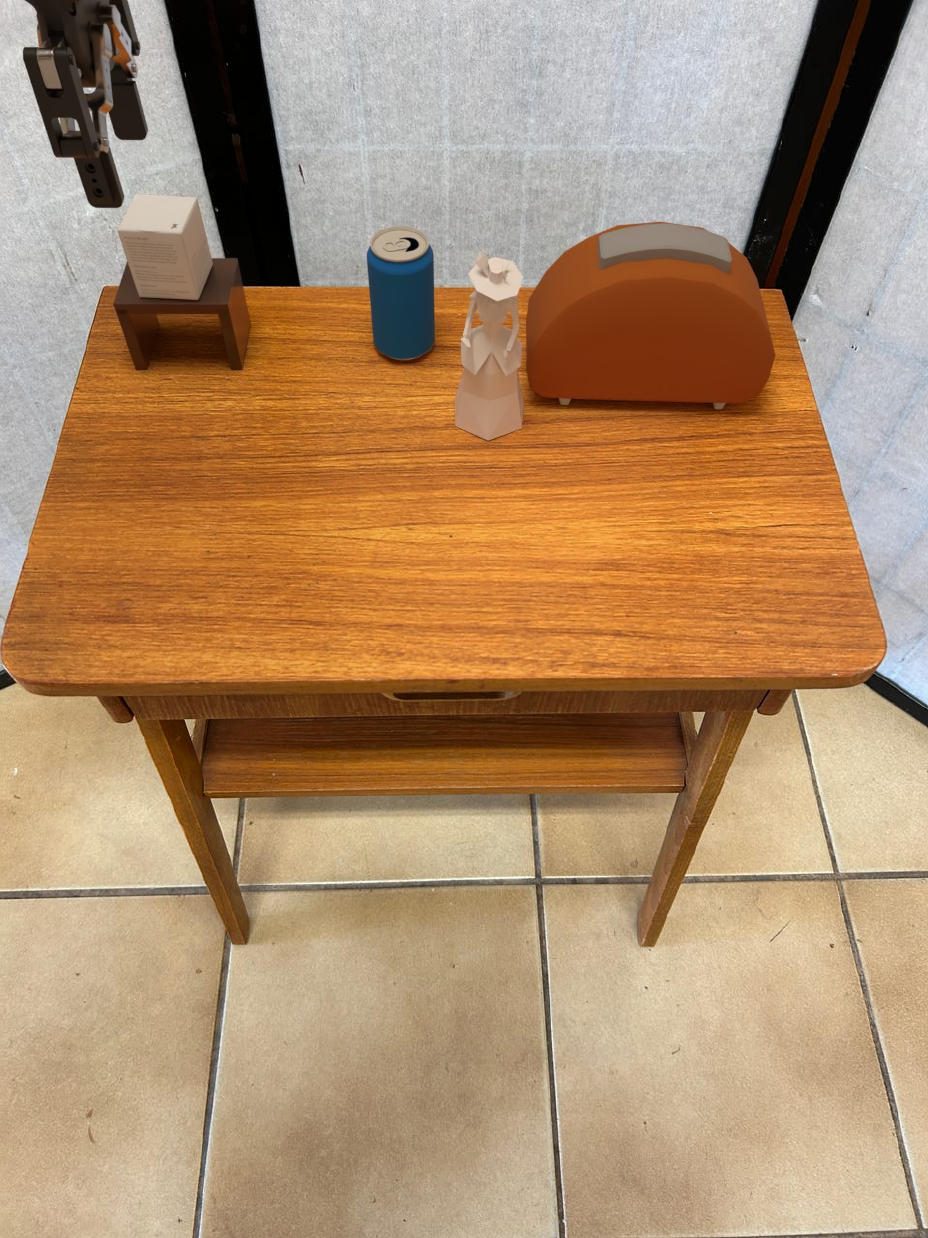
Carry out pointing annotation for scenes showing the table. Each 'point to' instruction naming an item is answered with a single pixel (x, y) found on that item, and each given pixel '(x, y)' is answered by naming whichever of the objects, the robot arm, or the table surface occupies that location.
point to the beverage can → (401, 292)
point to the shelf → (186, 312)
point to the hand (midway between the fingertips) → (121, 169)
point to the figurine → (491, 353)
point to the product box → (166, 246)
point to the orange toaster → (649, 320)
